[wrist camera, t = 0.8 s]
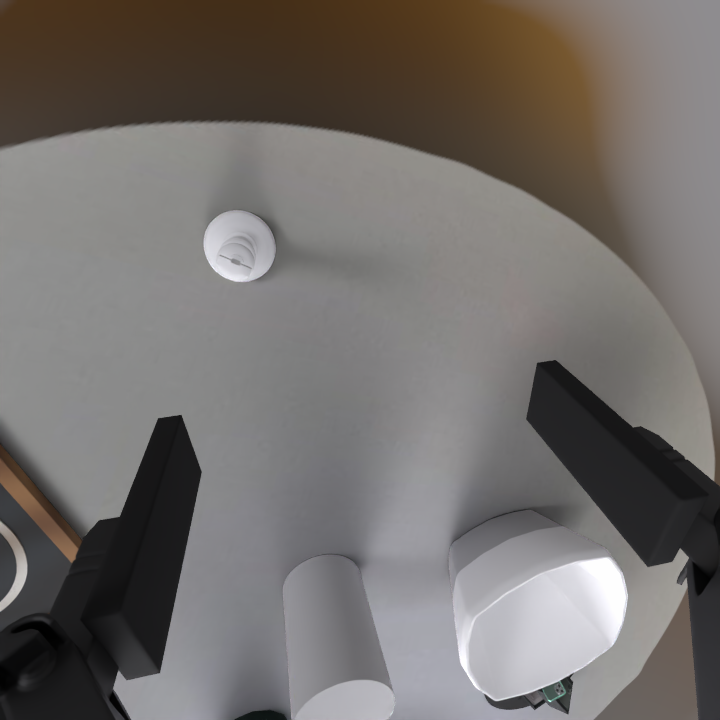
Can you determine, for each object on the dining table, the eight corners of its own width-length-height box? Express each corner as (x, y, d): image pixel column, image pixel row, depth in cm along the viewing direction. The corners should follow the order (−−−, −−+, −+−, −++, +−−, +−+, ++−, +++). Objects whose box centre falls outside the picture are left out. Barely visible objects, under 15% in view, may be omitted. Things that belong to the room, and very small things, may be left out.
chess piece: (217, 197, 28) (199, 196, 19) (285, 229, 30) (299, 242, 21) (193, 265, 29) (166, 294, 20) (261, 291, 31) (263, 330, 22)
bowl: (408, 531, 43) (445, 613, 34) (558, 467, 45) (630, 530, 36) (441, 632, 50) (479, 721, 42) (570, 574, 52) (632, 648, 44)
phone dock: (592, 662, 61) (622, 704, 56) (509, 720, 61) (531, 766, 56) (558, 615, 55) (588, 656, 50) (465, 679, 55) (486, 727, 50)
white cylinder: (287, 621, 44) (298, 762, 33) (277, 565, 41) (286, 699, 30) (362, 602, 45) (396, 730, 34) (358, 546, 42) (394, 667, 31)
